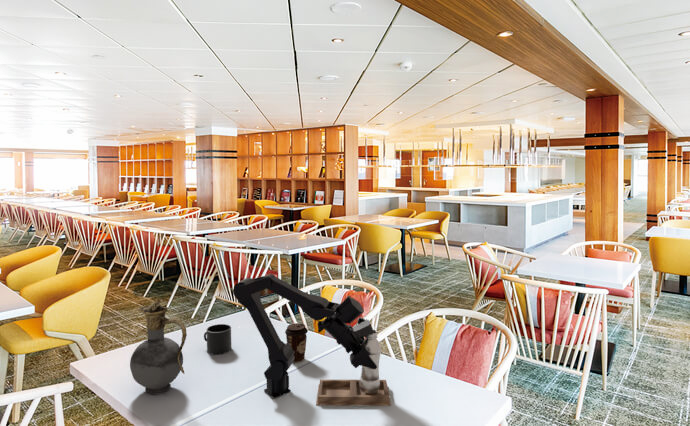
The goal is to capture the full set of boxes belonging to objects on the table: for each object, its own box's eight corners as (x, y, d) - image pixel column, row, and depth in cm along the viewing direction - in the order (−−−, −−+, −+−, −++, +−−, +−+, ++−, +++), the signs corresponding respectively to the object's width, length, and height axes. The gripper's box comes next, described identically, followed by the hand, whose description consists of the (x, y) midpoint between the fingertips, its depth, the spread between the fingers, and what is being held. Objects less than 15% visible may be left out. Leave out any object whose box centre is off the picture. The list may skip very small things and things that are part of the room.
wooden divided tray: (316, 405, 131) (315, 397, 131) (318, 385, 143) (318, 378, 143) (390, 405, 131) (390, 397, 131) (387, 386, 143) (387, 379, 143)
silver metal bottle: (355, 388, 139) (357, 329, 136) (374, 384, 141) (375, 326, 139) (364, 398, 133) (366, 337, 130) (383, 394, 136) (385, 333, 133)
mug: (211, 343, 179) (210, 322, 178) (236, 347, 175) (235, 325, 174) (196, 352, 170) (196, 330, 169) (222, 356, 166) (221, 333, 165)
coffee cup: (310, 355, 167) (309, 322, 166) (306, 364, 159) (305, 330, 158) (288, 354, 168) (287, 322, 167) (283, 363, 160) (282, 329, 159)
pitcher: (149, 378, 148) (145, 294, 145) (197, 385, 143) (194, 298, 140) (125, 394, 138) (121, 303, 135) (176, 402, 133) (173, 308, 130)
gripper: (363, 323, 125) (399, 358, 127) (354, 304, 143) (386, 334, 145) (336, 350, 125) (372, 385, 127) (331, 327, 143) (363, 358, 145)
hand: (374, 363), depth 136 cm, fingers closed on silver metal bottle, 6 cm apart
